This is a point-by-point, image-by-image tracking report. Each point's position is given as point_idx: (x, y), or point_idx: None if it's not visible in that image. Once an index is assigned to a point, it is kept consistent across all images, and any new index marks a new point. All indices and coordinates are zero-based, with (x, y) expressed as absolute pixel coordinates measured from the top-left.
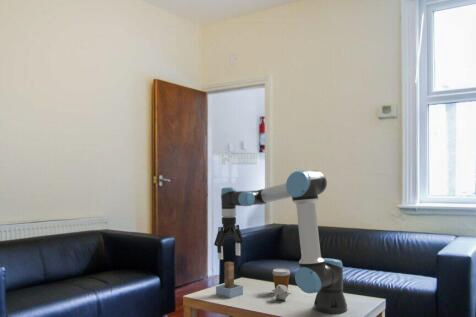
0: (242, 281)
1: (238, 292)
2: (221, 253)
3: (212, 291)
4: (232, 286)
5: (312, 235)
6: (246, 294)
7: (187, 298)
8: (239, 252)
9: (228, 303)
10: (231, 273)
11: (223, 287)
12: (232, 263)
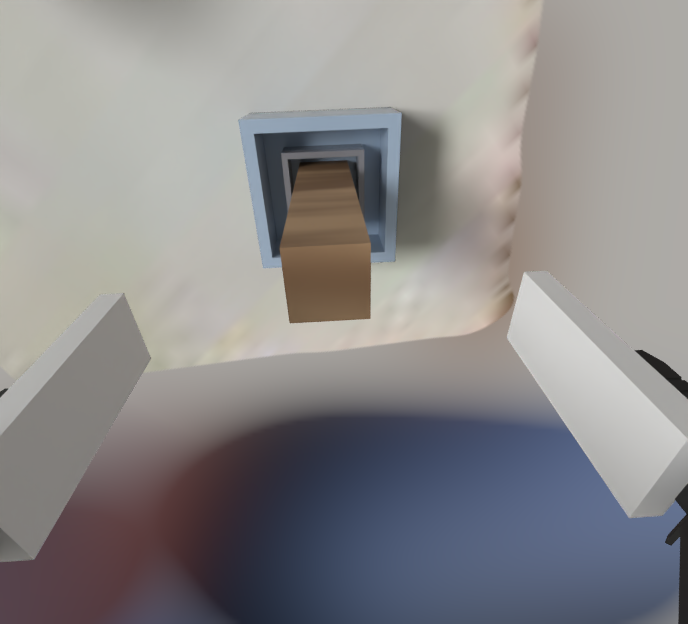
0: None
1: (298, 113)
2: (602, 332)
3: None
4: (315, 173)
5: None
6: (230, 88)
7: None
8: (95, 325)
9: (500, 8)
10: (327, 203)
11: None
12: (307, 242)
